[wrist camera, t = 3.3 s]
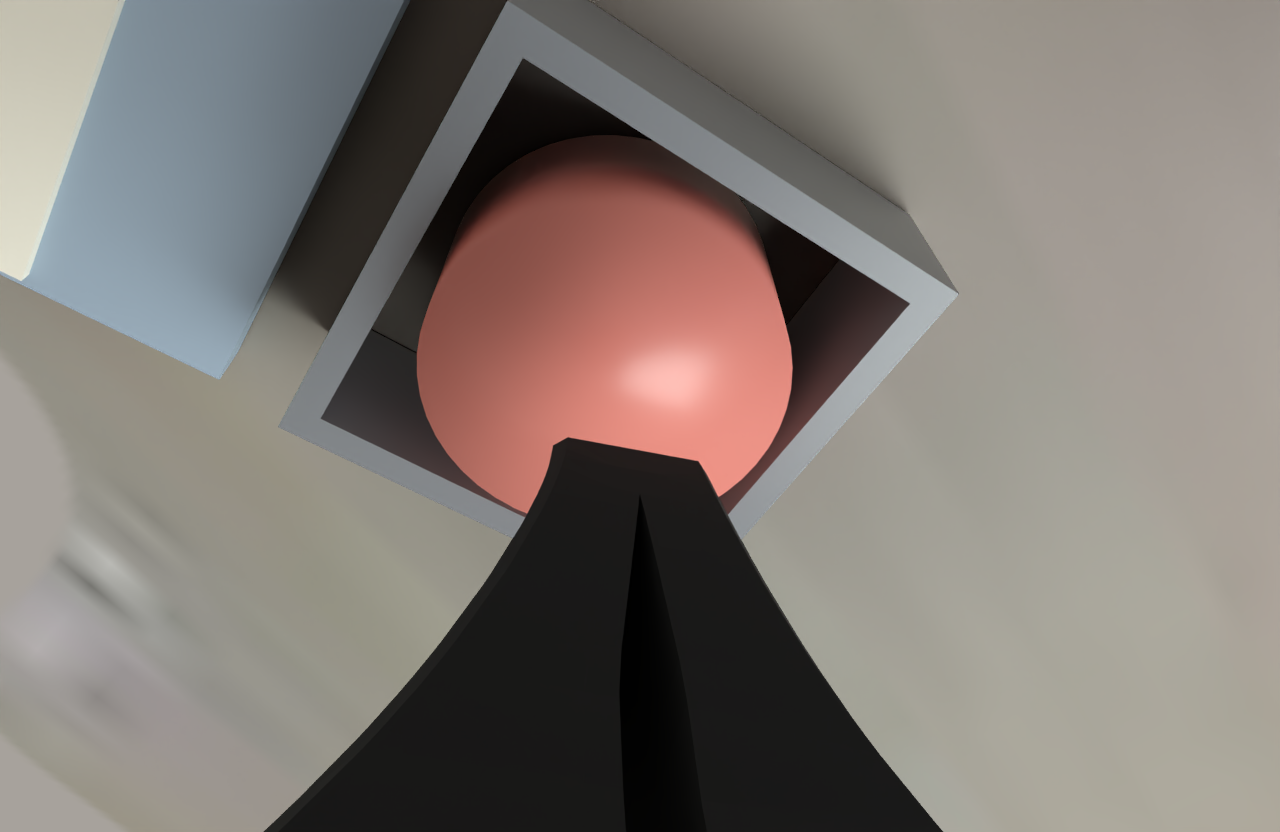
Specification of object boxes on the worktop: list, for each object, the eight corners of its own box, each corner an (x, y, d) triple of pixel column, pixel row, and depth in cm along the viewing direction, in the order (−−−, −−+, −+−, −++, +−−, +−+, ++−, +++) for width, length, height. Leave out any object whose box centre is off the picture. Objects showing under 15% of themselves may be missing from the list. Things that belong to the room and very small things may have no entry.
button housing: (909, 215, 14) (958, 293, 12) (669, 508, 17) (674, 615, 15) (528, -40, 12) (507, 0, 10) (327, 333, 15) (278, 427, 13)
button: (834, 248, 14) (870, 331, 12) (655, 473, 16) (658, 578, 14) (550, 66, 12) (534, 124, 10) (393, 337, 14) (354, 430, 12)
